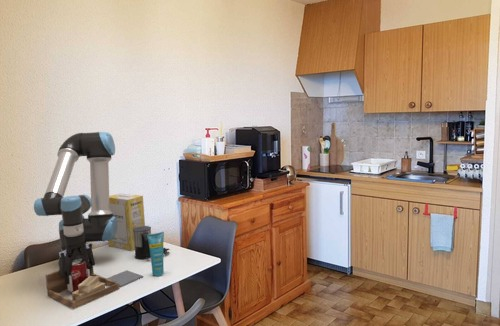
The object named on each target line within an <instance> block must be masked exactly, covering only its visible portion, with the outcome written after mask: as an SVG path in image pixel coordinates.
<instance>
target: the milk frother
mask: <svg viewBox="0 0 500 326" xmlns="http://www.w3.org/2000/svg"><path fill="white" fill-rule="evenodd" d="M133 233H134V245H135V250H134V258H135V259H137V260H145V259H149V258H150V259H151V255H150V248H149V242H148V237H147V235H149V234H152V226H150V225H145V226H140V227H136V228H133ZM168 251H170V248H166V247H163V254H165V253H167V252H168Z"/></svg>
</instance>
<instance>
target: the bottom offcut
mask: <svg viewBox="0 0 500 326" xmlns="http://www.w3.org/2000/svg"><path fill="white" fill-rule="evenodd" d="M105 288H106V285H105V283H102V282H99V284H98V285H97V286H96V287H94V288H93V289H92V290H91V291H90V292H89V293H79V290H77V291H75V292H71V298H72V299H71V300H72V301H76V300H79V299H81V298H83V297H86V296H88V295H90V294H93V293H95V292H98V291H100V290H102V289H105Z"/></svg>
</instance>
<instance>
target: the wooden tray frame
mask: <svg viewBox="0 0 500 326" xmlns="http://www.w3.org/2000/svg"><path fill="white" fill-rule="evenodd" d="M88 261H89V260H88ZM91 273H92V274H91V275H90V276H99V282H102V283H105V286H107V285H108V286H107V287H105V289H102V290H100V291H98V292H95V293H93V294H90V295H88V296H86V297H83V298H81V299H79V300H76V301H73V300H72V299H70V298H68V297H66V296H64V295H62V294H59V293H62V292H64V291H68V288H67V284H65V279H64V277H62V276H59V269H58V270H55V271H53V272H49V273H45V280H46V290H47V291H46V292H47V296H48V298H49V297H50V298H51V299H53V300H55V301H57V302H59V303H62V304H63V305H64V306H68V307H69V308H72V309H73V310H75V309H77V308H80V307H82V306H84V305H86V304H89V303H91V302H93V301H96V300H98V299H100V298H102V297H103V298H104V296H108V295H109V294H111V293H114V292H116V291H118V290H120V289H121V287H119V283H117V282H115V281H112V280H109V279H107V278H108V277H104V276H101V275H100V274H99V275H98V274H96V273H95V272H94V266H92V269H91Z"/></svg>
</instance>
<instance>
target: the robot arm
mask: <svg viewBox="0 0 500 326" xmlns="http://www.w3.org/2000/svg"><path fill="white" fill-rule="evenodd" d="M115 154H116V145H115V140H114V138H113V136H112V134H111V133H110V132H105V131H96V132H78V133H75V134H73V135H71V136H69V137H68V138H66V140H64V141H63V143H62V144H61V145H60V147H59V149H58V151H57V157H58V158H57V160H56V163H55V166H54V169H53V171H52V174H51V176H50V179H49V182H48V185H47V188H46V190H45V192H44V195H43V197H39V198H37V199H36V200H34V202H33V210H34V213H35V215H36V216H39V217H40V216H41V217H48V216H61V220H60V221H59V223H58V232H59V234H58V235H59V243H60V251H58V252H57V254H58V262H57V263H58V264H57V265H58V270H59V276H62V277H64V279H65V284H67V288H68V289H67V291H69V292H71V293H73V292H72V291H73V286H72V277H71V276H70V271H71V266H72V263H73V260H77V259H82V260H84V261H86V262H87V271H88V277H89V276H90V275H91V274H92V273H91V269H92V266H93V267H94V266H96V261H95V257H94V253H93V244H92V242H95V243H96V242H97V243H98V242H107V241H110V240H112V239H113V238H114V237H115V234H116V230H117V218H116V217H114V216H113V213H112V212H111V211H110V206H109V196H110V175H109V174H110V172H109V162H110V161H111V160H112V156H114V155H115ZM81 157H86V160H87V161H88V162H89V169H90V171H89V173H90V177H89V179H90V196H89V195H87V194H79V195H68V196H65V193H66V189H67V187H68V183H69V181H70V178H71V175H72V172H73V168H74V166H75V163H77V161H78V160H79V158H81ZM88 211H90V212H89V213H88V214H87V218H86V217H85V216H84V214H85V213H87V212H88ZM88 260H89V261H88Z"/></svg>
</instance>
